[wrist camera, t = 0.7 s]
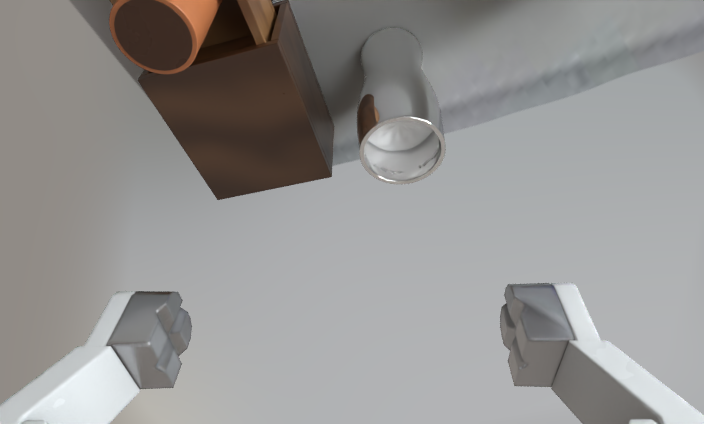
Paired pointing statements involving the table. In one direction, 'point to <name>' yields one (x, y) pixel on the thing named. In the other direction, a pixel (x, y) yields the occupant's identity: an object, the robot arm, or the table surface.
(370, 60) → the beer glass
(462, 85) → the table surface
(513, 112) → the table surface
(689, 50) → the table surface
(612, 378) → the robot arm
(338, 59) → the table surface
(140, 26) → the orange mug
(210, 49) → the drawer
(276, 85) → the cabinet
